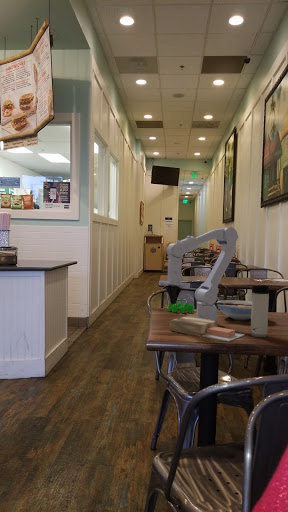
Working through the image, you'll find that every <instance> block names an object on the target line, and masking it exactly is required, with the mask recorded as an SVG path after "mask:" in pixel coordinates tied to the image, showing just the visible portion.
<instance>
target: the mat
mask: <svg viewBox="0 0 288 512" xmlns="http://www.w3.org/2000/svg"><path fill="white" fill-rule="evenodd" d="M245 336H246V334H245V333H238V332H235V335H234V336H231V337H229V338H226V337H221V336H215V335H210V334H205V335H202V336H201V337H203V338H208V339H213V340H217V341H223V342H228V343H229V342H231V341H234V340H236V339H239V338H242V337H245Z"/></svg>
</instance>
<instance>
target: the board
mask: <svg viewBox="0 0 288 512" xmlns="http://www.w3.org/2000/svg"><path fill="white" fill-rule="evenodd" d="M218 324H219V321H218V320H217V321H216V320H209V319H203V318H197V316H192V315H188V316H183V317H179V318H178V317H177V318H175V319H174V318H173V319H170V320H169V331H172V332H178V333H182V334H186V335H192V336H196V337H202V335H205V334H206V332H207V328H211V327H219V325H218Z"/></svg>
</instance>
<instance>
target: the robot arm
mask: <svg viewBox="0 0 288 512" xmlns="http://www.w3.org/2000/svg"><path fill="white" fill-rule="evenodd" d="M238 239H239V235H238V231H237V230H236V229H235V228H234V227H230V226H229V227H218V228H213V229H211V230H209V231H207V232H205V233H202V234H201V235H198V236H196V237H195V236H193V235H192V236H191V235H187V236H186V237H185V238H184V239H181V240H179V239H178V240H176V243H175V242H172V243H170V244H169V245H168V246H167V248H166V249H165V252H166V254H167V256H168V257H167V258H168V259H167V280H159V281H158V286H166V287H165V290H166V292H167V294H168V296H169V301H170V302H169V303H171V304H175V305H177V303H178V299H179V296H180V293H181V291H182V290H183V288H184V289H190V288H191V283H187V282H183V281H182V266H183V265H182V264H183V262H182V261H183V256H184V254H187V253H190V252H192V251H195V250H196V249H198V247H199V245H202V244H204V243H206V242H209V241H212V240H216V241H217V243H218V244H219V246H220V249H221V251H220V254H219V256H218V257H217V259H216V261H215V263H214V265H213V267H212V269H211V270H210V272H209V274H208V276H207V279H205V281H204V282H202V283H201V284H200V286H199V287H198V288H197V289H196V290H195V292H194V299H195V301H196V317H197V318H203V319H209V320H216V321H218V320H217V315H218V309H217V306H216V304H215V302H216V301H218V294H219V287H218V286H219V284H220V282H221V280H222V278H223V276H224V275H225V272H226V270H227V269H228V267H229V265H230V263H231V262H232V259H233V257H234V255H235V253H236V252H237V251H236V250H237V241H238Z"/></svg>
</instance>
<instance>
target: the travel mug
mask: <svg viewBox="0 0 288 512" xmlns="http://www.w3.org/2000/svg"><path fill="white" fill-rule="evenodd" d="M251 291H252V292H251V302H252V310H251V318H250V336H252V337H255V338H266V337H267V336H268V327H269V326H268V323H269V322H268V319H269V307H268V306H269V302H270V301H269V299H270V295H269V294H270V286H269V285H264V284H263V285H252V290H251Z"/></svg>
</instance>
